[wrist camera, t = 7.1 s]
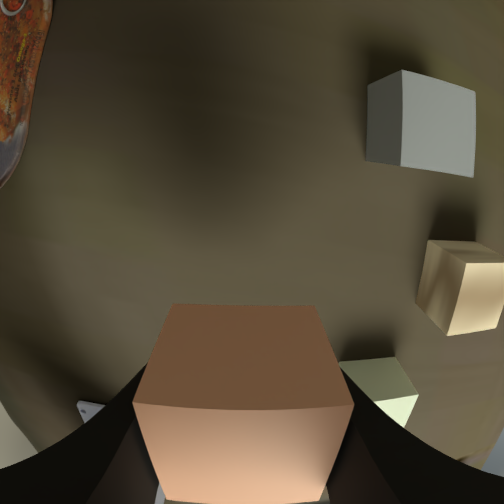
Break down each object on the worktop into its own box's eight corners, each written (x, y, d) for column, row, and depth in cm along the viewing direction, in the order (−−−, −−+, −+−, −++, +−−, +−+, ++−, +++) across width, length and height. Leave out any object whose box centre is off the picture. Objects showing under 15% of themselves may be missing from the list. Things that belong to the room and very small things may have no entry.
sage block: (380, 399, 23) (398, 437, 18) (328, 404, 23) (341, 447, 18) (394, 355, 21) (418, 394, 17) (338, 361, 21) (355, 404, 17)
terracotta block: (299, 405, 11) (318, 500, 7) (184, 403, 11) (166, 499, 7) (314, 305, 10) (354, 404, 6) (172, 303, 10) (132, 402, 6)
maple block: (461, 299, 20) (495, 328, 16) (414, 302, 20) (446, 336, 16) (475, 241, 19) (514, 262, 14) (427, 239, 18) (466, 263, 14)
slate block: (429, 169, 17) (473, 177, 13) (365, 160, 17) (400, 166, 13) (431, 99, 16) (475, 91, 11) (367, 85, 16) (402, 69, 11)
